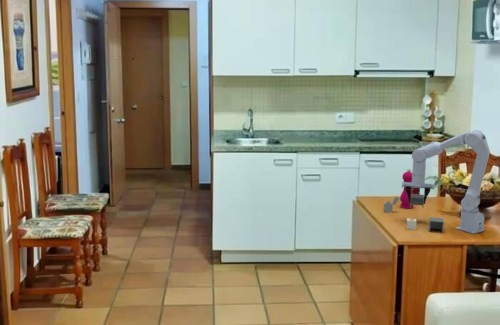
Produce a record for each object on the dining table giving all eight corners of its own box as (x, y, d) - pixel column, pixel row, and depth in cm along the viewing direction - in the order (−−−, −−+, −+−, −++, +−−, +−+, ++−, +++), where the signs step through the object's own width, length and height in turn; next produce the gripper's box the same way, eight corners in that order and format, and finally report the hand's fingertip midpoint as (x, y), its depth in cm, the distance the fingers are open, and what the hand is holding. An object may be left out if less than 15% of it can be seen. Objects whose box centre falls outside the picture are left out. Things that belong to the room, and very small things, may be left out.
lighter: (383, 212, 293) (384, 196, 292) (383, 211, 295) (384, 195, 293) (398, 212, 293) (399, 196, 291) (397, 211, 294) (398, 196, 293)
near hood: (428, 228, 266) (429, 217, 266) (442, 229, 265) (443, 218, 264) (429, 231, 261) (429, 220, 260) (442, 232, 259) (443, 221, 259)
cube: (406, 226, 268) (407, 218, 268) (415, 227, 267) (416, 218, 267) (406, 229, 265) (407, 220, 264) (415, 230, 264) (416, 221, 263)
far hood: (410, 204, 280) (410, 193, 279) (423, 205, 278) (423, 194, 277) (410, 207, 274) (410, 196, 273) (423, 208, 273) (423, 197, 272)
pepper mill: (414, 209, 299) (416, 170, 295) (399, 208, 300) (401, 169, 297) (413, 206, 306) (415, 167, 302) (399, 205, 307) (401, 167, 304)
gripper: (402, 175, 272) (400, 203, 274) (435, 177, 268) (433, 206, 270) (402, 172, 278) (400, 200, 281) (434, 174, 275) (433, 202, 277)
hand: (416, 203), depth 276 cm, fingers closed on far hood, 6 cm apart
